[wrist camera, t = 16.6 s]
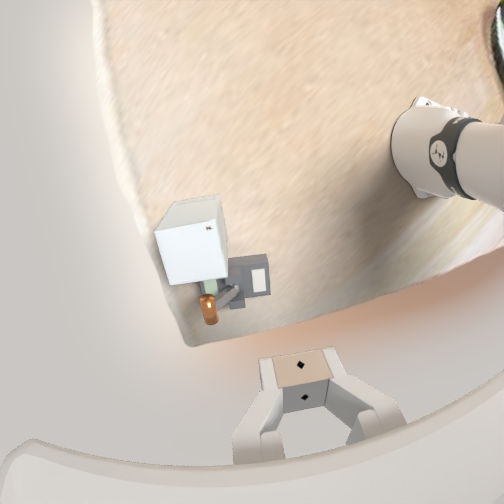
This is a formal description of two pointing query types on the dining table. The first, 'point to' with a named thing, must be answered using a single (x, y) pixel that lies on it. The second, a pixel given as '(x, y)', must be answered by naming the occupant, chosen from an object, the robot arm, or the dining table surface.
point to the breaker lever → (217, 303)
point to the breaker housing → (242, 279)
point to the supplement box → (194, 240)
